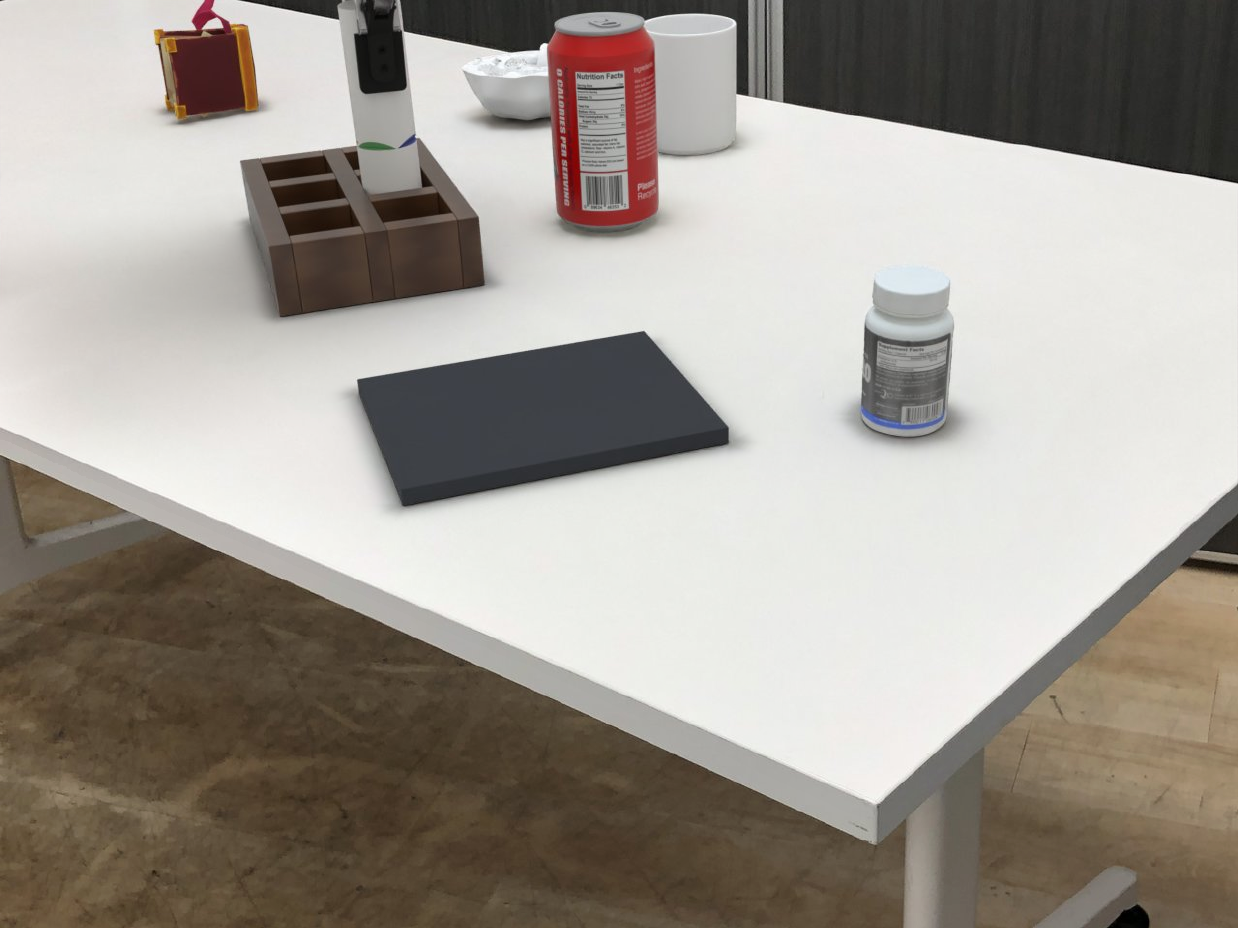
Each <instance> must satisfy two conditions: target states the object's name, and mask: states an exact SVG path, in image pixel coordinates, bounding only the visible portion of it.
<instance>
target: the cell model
mask: <svg viewBox="0 0 1238 928" xmlns="http://www.w3.org/2000/svg"><path fill="white" fill-rule="evenodd" d="M548 44H549V43H546V42H544V43H542V44H540V47H539V50H525V51H516V52H508V53H501V54H494V55H487V56H482V57H476V58H475V59H474V60H473V59H472V60H471V61H469V62H467V63H465V64H463V65H462V66H461V70H462V72H463V75H464V76H465V79H466V81H467V83H468V85H469V87H470V89H471V91H472V93H473V94H474V96H475V97H476V99H477V100H478V101H479V103H480V105H481V106H482V107H483V108H484V109H485V110H486V112H488V113H489V114H491V115H492V116H496V117H499V118H504V119H515V120H521V121H533V120H536V119H542V118H544V119H547V118H551V113H550V97H549V81H548V65H547V45H548Z"/></svg>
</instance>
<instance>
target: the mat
mask: <svg viewBox="0 0 1238 928" xmlns="http://www.w3.org/2000/svg"><path fill="white" fill-rule="evenodd" d="M356 383H357V389H358V395H359V398H360V400H361V404H363V407H364V411H365V413H366V416H367V418H368V421H369V423H370V425H371V429H372V430H373V434H374V436H375V438H376V442H377V444H378V446H379V448H380V451H381V454H382V456H383V459H384V461H385V464H386V467H387V469H388V472H389V474H390V477H391V479H392V481H393V484H394V487H395V489H396V492H397V494H398V497H399V499H400V503H401V505H402V506H408V505H414V504H419V503H424V502H429V501H434V500H441V499H446V498H451V497H456V496H460V495H465V494H471V493H476V492H480V491H487V490H492V489H496V488H502V487H506V486H512V485H519V484H524V483H529V482H534V481H538V480H544V479H549V478H554V477H555V478H556V477H559V476H565V475H570V474H575V473H580V472H585V471H590V470H596V469H600V468H606V467H611V466H617V465H622V464H626V463H627V464H628V463H631V462H637V461H642V460H648V459H653V458H659V457H663V456H667V455H668V456H669V455H673V454H678V453H684V452H689V451H695V450H699V449H705V448H709V447H715V446H721V445H725V444H729V443H730V442H729V441H730V433H729V431H730V427H729V426H728V425H727V424H726V422H725V421H724V420H723V419H722V418H721V417H720V415H718V413H717V412H716V411H715V410H714V408H713V407H712V406H711V405H710V404H709V403H708V402H707V401H706V400H705V398H704V397H703V396H702V395H701V394H700V393H699V391H698V390H697V389H696V388H695V387H694V386H693V384H691V383H690V381H689V380H688V378H686V377H685V376H684V374H683V373H682V372H681V371H680V370H679V368H678V367H676V365H675V364H674V363H673V362H672V361H671V359H670V358H669V357H668V356H667V355H666V354H665V353H664V352H663V351H662V350H661V348H660V347H659V346H658V344H656V342H655V341H654V340H653V339H652V338H651V336H649V334H648V333H647V331H645V330H640V331H635V332H629V333H624V334H617V335H612V336H611V335H610V336H605V337H599V338H593V339H587V340H582V341H575V342H570V343H565V344H558V345H551V346H546V347H541V348H535V349H529V350H522V351H517V352H511V353H505V354H499V355H494V356H486V357H482V358H475V359H469V360H464V361H457V362H450V363H446V364H440V365H434V366H428V367H427V366H426V367H422V368H416V369H409V370H403V371H398V372H392V373H386V374H379V375H374V376H368V377H363V378H357V380H356Z"/></svg>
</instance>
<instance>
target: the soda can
mask: <svg viewBox="0 0 1238 928" xmlns="http://www.w3.org/2000/svg"><path fill="white" fill-rule="evenodd" d="M645 21H646V20H645V18H644V17H642V16H641V15H638V14H633V13H628V12H620V11H619V12H618V11H599V12H586V13H585V12H584V13H578V14H573V15H568V16H565V17H561V18H560V19H557V20H556V21H555V22H554V29H555V30H554V33H553V35H552V37H551V39H550V40H549V42H548V43H547V44H548V45H547V65H548V81H549V97H550V113H551V117H550V129H551V143H552V156H553V157H552V159H553V161H552V162H553V175H554V192H555V206H556V207H555V208H556V212H557V215H558V216H559V218H560V219H562V220H563V221H564V222H566V223H568V224H570V225H572V226H574V227H576V228H577V229H580V230H583V231H585V232H586V231H587V232H594V233H616V232H622V231H623V232H624V231H627V230H631V229H633V228H636V227H638V226H640V225H642V224H643V223H644V222H646V221H648V220H650V219H651V218H652V217H654V216H655V215H656V214H657V212H658V210H659V204H660V199H659V198H660V197H659V196H660V191H659V152H658V149H657V110H656V71H655V44H654V41H653V39H652V38H651V37H650V35H649V34H648V32H647V31H646V29H645V28H644V24H645Z"/></svg>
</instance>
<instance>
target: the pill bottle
mask: <svg viewBox="0 0 1238 928" xmlns="http://www.w3.org/2000/svg"><path fill="white" fill-rule="evenodd" d="M950 291H951V280H950V278H949V276H948V275H947V274H946V273H945V272H942V271H941V270H939V269H936V268H933V267H929V266H923V265H917V264H902V265H892V266H889V267H886V268H883V269H882V270H880V271H877V273H876V274H875V275H874V277H873V287H872V294H871V298H872V305H873V306H871V307H870V308H869V309H868V310H867V312H866V315H865V319H864V326H863V354H862V369H861V371H862V373H861V395H860V396H861V397H860V416H861V419H862V421H863V422H864V424H865V425H867V426H868V427H869V428H870V429H872V430H874V431H876V432H879V433H881V434H886V435H891V436H897V437H907V438H908V437H909V438H910V437H911V438H912V437H921V436H925V435H928V434H931V433H934V432H936V431H937V430H938V429H940V428H941V427H942V426H943V425H944V423H945V422H946V418H947V414H948V403H949V394H950V393H949V392H950V383H951V370H952V357H953V339H954V330H955V320H954V315H953V314H952V313H951V311H950V309H948V307H949V303H950V294H951V292H950Z"/></svg>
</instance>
